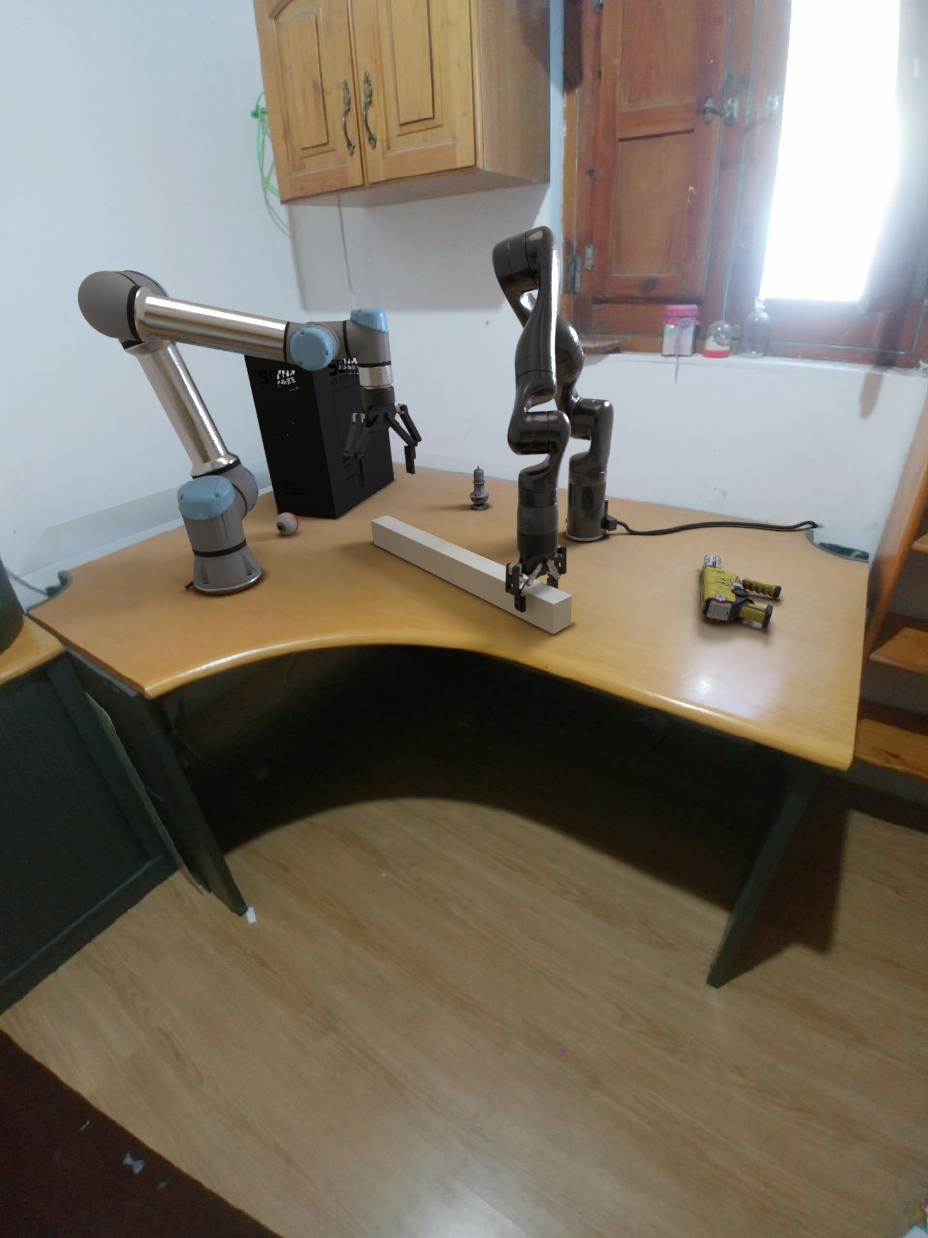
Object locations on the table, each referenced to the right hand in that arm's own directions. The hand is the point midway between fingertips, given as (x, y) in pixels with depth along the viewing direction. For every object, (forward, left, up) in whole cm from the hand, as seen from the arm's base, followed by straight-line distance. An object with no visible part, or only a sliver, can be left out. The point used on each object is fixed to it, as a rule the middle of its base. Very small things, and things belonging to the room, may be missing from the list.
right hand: (536, 603), depth 118 cm
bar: (+7, -24, -3) cm, 25 cm away
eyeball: (+39, -71, -3) cm, 81 cm away
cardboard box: (+19, -97, -3) cm, 99 cm away
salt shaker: (-16, -65, -3) cm, 67 cm away
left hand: (+15, -48, +14) cm, 52 cm away
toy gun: (-40, +12, -3) cm, 41 cm away
